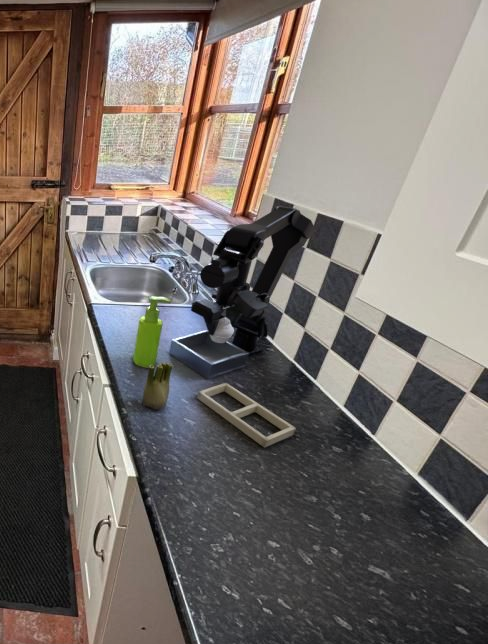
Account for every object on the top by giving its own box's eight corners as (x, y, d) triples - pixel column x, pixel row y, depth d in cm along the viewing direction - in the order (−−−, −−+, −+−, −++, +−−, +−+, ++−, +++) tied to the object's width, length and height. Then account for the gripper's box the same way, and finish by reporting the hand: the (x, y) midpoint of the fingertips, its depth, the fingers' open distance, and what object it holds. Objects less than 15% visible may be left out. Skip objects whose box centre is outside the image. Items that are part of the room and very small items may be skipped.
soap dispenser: (160, 369, 111) (173, 303, 102) (134, 366, 112) (144, 301, 103) (157, 357, 116) (168, 294, 107) (131, 354, 117) (141, 292, 109)
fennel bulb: (141, 409, 96) (148, 367, 91) (140, 396, 100) (148, 355, 95) (167, 414, 95) (176, 371, 89) (165, 400, 99) (174, 359, 94)
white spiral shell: (236, 342, 106) (242, 319, 103) (220, 348, 104) (225, 324, 101) (216, 332, 112) (221, 309, 109) (199, 337, 109) (205, 314, 106)
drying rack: (223, 388, 102) (225, 382, 102) (293, 435, 88) (296, 428, 87) (197, 398, 99) (198, 391, 99) (264, 447, 85) (267, 440, 84)
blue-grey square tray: (203, 343, 122) (207, 329, 120) (244, 367, 111) (249, 352, 109) (169, 353, 118) (171, 339, 116) (208, 379, 106) (211, 364, 104)
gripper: (236, 297, 90) (221, 356, 97) (291, 282, 97) (273, 338, 103) (195, 280, 100) (184, 334, 106) (248, 267, 106) (234, 319, 113)
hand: (219, 332), depth 107 cm, fingers closed on white spiral shell, 6 cm apart
